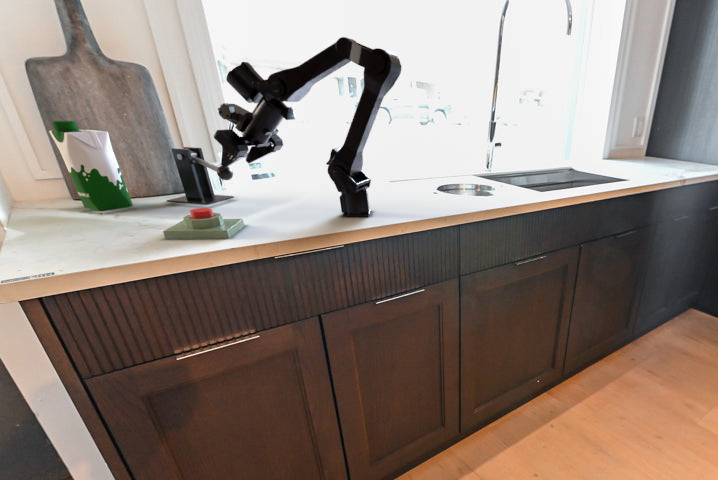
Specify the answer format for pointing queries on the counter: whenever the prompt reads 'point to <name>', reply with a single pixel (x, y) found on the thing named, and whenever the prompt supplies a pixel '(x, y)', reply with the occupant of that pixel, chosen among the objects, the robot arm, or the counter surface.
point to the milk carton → (91, 166)
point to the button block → (204, 228)
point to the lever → (214, 167)
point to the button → (201, 213)
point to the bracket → (194, 179)
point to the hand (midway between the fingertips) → (235, 164)
